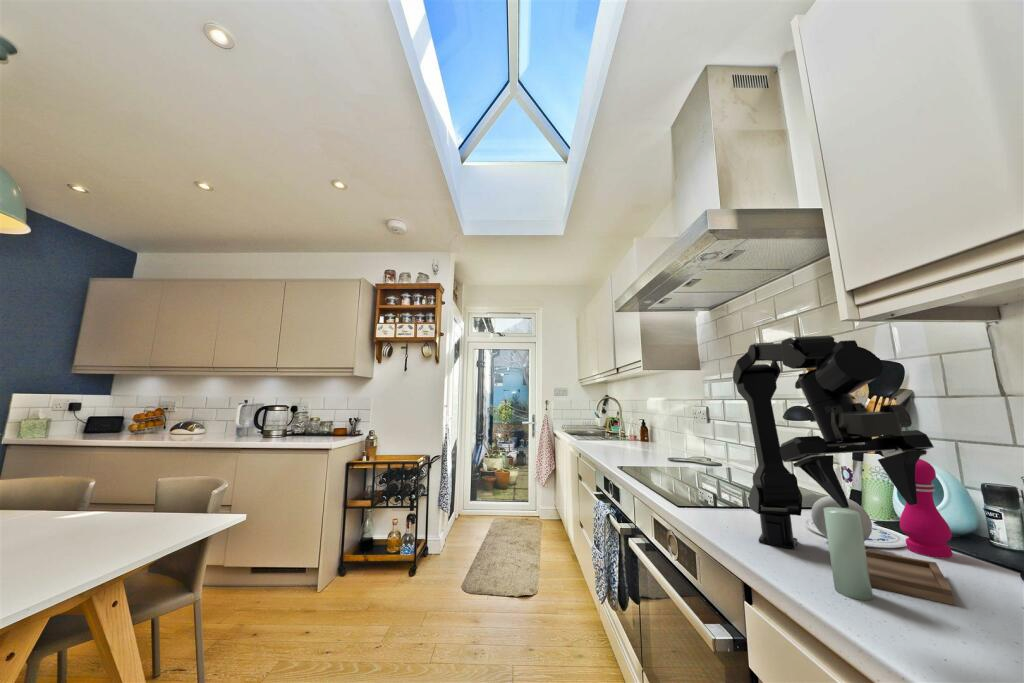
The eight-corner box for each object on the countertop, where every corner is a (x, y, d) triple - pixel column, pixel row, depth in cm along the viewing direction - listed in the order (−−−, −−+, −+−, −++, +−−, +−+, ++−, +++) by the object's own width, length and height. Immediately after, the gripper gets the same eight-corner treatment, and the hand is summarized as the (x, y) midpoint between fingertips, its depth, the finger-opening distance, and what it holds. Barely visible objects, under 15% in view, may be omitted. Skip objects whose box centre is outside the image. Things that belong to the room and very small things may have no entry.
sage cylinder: (834, 583, 64) (823, 505, 66) (871, 591, 61) (859, 510, 63) (834, 593, 60) (822, 511, 62) (873, 603, 57) (860, 516, 59)
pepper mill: (900, 542, 81) (884, 447, 84) (951, 550, 77) (931, 449, 80) (906, 553, 76) (888, 451, 79) (961, 562, 71) (939, 453, 74)
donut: (875, 547, 79) (867, 497, 80) (877, 552, 76) (868, 500, 78) (814, 537, 85) (808, 491, 87) (814, 541, 82) (807, 494, 84)
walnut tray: (841, 556, 75) (839, 545, 75) (938, 574, 66) (935, 562, 67) (841, 579, 65) (839, 567, 65) (954, 605, 57) (952, 590, 57)
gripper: (798, 390, 56) (848, 503, 48) (934, 381, 54) (1007, 496, 47) (763, 413, 66) (799, 511, 58) (877, 406, 64) (930, 505, 56)
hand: (879, 506), depth 55 cm, fingers open, 9 cm apart
